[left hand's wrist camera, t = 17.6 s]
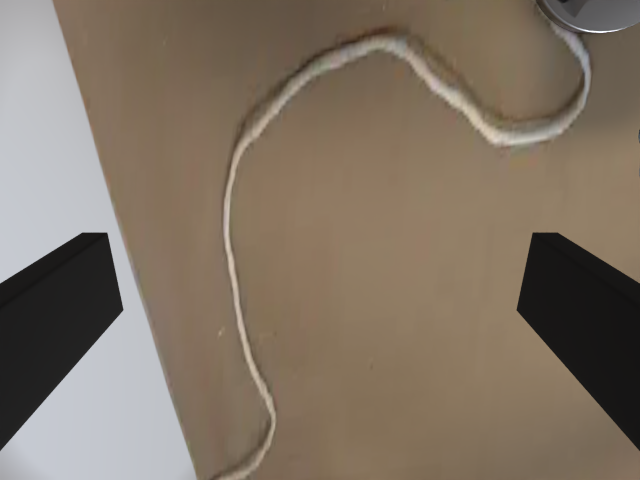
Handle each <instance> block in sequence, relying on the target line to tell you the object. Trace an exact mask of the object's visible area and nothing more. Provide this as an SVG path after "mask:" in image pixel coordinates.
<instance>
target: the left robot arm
mask: <svg viewBox="0 0 640 480" xmlns="http://www.w3.org/2000/svg"><path fill="white" fill-rule="evenodd" d="M536 1H537V3H538V5H539V6H540V8H541V9H542V11H543V12H544V13H545V14H546V15H547V16H548V17H549V18H550V19H551V20H552V21H553V22H555V23H556V24H557V25H559V26H561V27H562V28H565V29H567V30H569V31H573V32H576V33H582V34H601V33H607V32H612V31H617V30H621V29H625V28H627V27H630V26H633V25H635V24H637V23H639V22H640V0H536ZM639 142H640V130H639ZM639 175H640V170H639ZM122 311H123V306H122V301H121V296H120V291H119V287H118V282H117V277H116V272H115V268H114V263H113V258H112V253H111V248H110V243H109V239H108V234H107V233H81V234H80V235H78V236H76V237H75V238H73V239H71V240H70V241H68V242H67V243H65V244H63V245H62V246H60V247H58V248H57V249H55V250H54V251H52V252H50V253H49V254H47V255H46V256H44V257H42V258H41V259H39V260H38V261H36V262H34V263H33V264H31V265H29V266H28V267H26V268H25V269H23V270H21V271H20V272H18V273H16V274H15V275H13V276H12V277H10V278H8V279H7V280H5V281H4V282H2V283H0V451H1V449H2V448H3V447H4V446H5V445H6V444H7V443H8V441H9V440H10V439H11V438H12V437H13V436H14V435H15V433H16V432H17V431H18V430H19V429H20V428H21V427H22V425H23V424H24V423H25V422H26V421H27V420H28V419H29V417H30V416H31V415H32V414H33V413H34V412H35V411H36V409H37V408H38V407H39V406H40V405H41V404H42V403H43V401H44V400H45V399H46V398H47V397H48V396H49V395H50V393H51V392H52V391H53V390H54V389H55V388H56V387H57V385H58V384H59V383H60V382H61V381H62V380H63V379H64V377H65V376H66V375H67V374H68V373H69V372H70V371H71V369H72V368H73V367H74V366H75V365H76V364H77V363H78V361H79V360H80V359H81V358H82V357H83V356H84V355H85V353H86V352H87V351H88V350H89V349H90V348H91V347H92V345H93V344H94V343H95V342H96V341H97V340H98V339H99V337H100V336H101V335H102V334H103V333H104V332H105V331H106V329H107V328H108V327H109V326H110V325H111V324H112V323H113V321H114V320H115V319H116V318H117V317H118V316H119V315H120V313H121V312H122ZM517 311H518V312H519V313H520V315H521V316H522V317H523V318H524V319H525V320H526V321H527V323H528V324H529V325H530V326H531V327H532V328H533V329H534V331H535V332H536V333H537V334H538V335H539V336H540V337H541V339H542V340H543V341H544V342H545V343H546V344H547V345H548V347H549V348H550V349H551V350H552V351H553V352H554V353H555V355H556V356H557V357H558V358H559V359H560V360H561V361H562V363H563V364H564V365H565V366H566V367H567V368H568V369H569V371H570V372H571V373H572V374H573V375H574V376H575V377H576V379H577V380H578V381H579V382H580V383H581V384H582V385H583V387H584V388H585V389H586V390H587V391H588V392H589V393H590V395H591V396H592V397H593V398H594V399H595V400H596V401H597V403H598V404H599V405H600V406H601V407H602V408H603V409H604V411H605V412H606V413H607V414H608V415H609V416H610V417H611V419H612V420H613V421H614V422H615V423H616V424H617V425H618V427H619V428H620V429H621V430H622V431H623V432H624V433H625V435H626V436H627V437H628V438H629V439H630V440H631V441H632V443H633V444H634V445H635V446H636V447H637V448H638V449H639V451H640V283H638V282H636V281H635V280H633V279H632V278H630V277H628V276H627V275H625V274H624V273H622V272H620V271H619V270H617V269H615V268H614V267H612V266H611V265H609V264H607V263H606V262H604V261H603V260H601V259H599V258H598V257H596V256H594V255H593V254H591V253H590V252H588V251H586V250H585V249H583V248H582V247H580V246H578V245H577V244H575V243H573V242H572V241H570V240H569V239H567V238H565V237H564V236H562V235H561V234H559V233H533V234H532V239H531V243H530V248H529V253H528V258H527V262H526V267H525V272H524V277H523V282H522V286H521V291H520V296H519V301H518V306H517Z"/></svg>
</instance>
